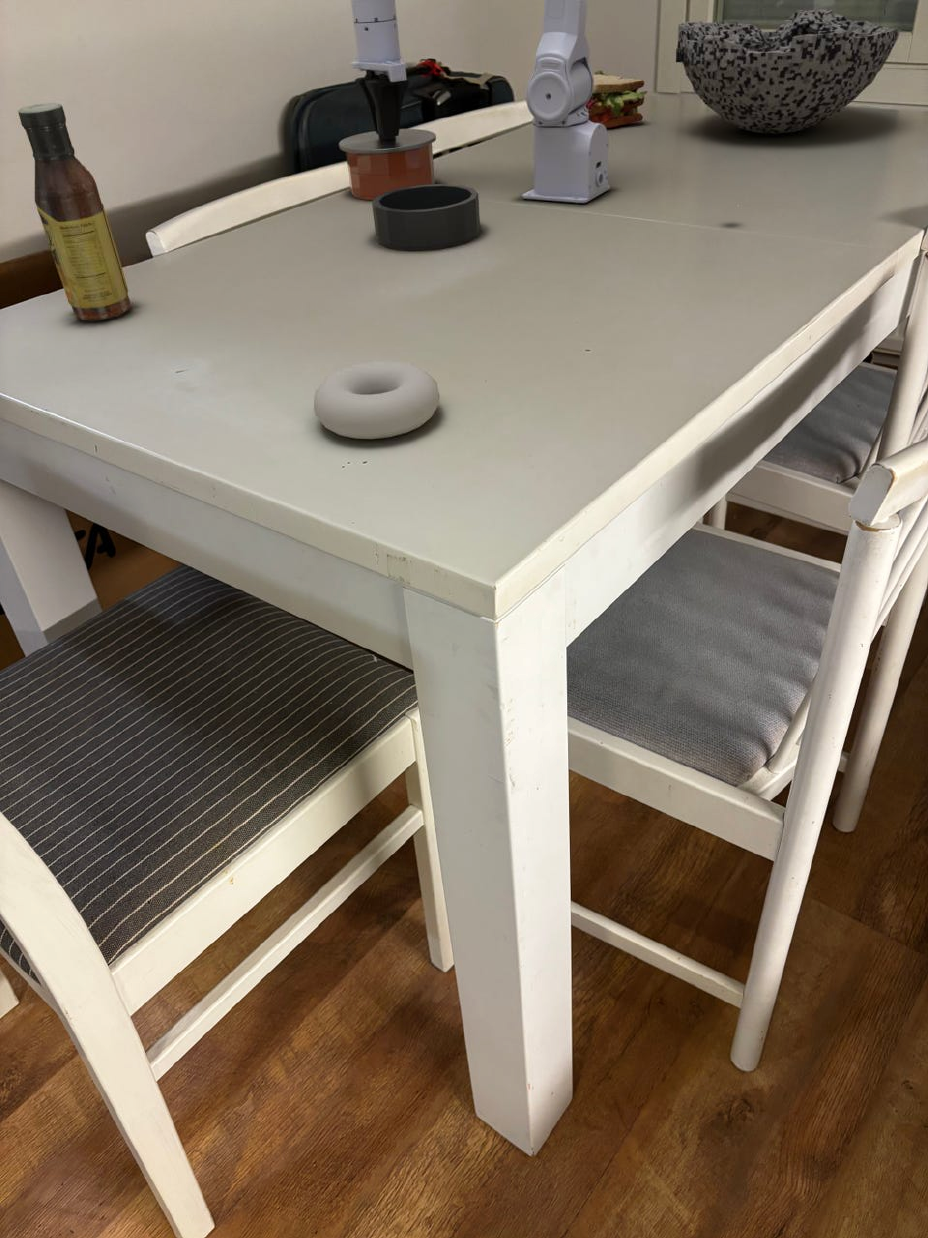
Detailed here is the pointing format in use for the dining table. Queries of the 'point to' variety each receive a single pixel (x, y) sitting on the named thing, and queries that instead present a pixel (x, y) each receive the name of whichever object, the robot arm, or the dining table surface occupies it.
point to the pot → (389, 171)
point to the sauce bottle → (74, 218)
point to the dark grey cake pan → (426, 217)
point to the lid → (387, 141)
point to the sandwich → (615, 100)
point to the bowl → (783, 67)
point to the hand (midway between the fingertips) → (387, 134)
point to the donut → (376, 399)
